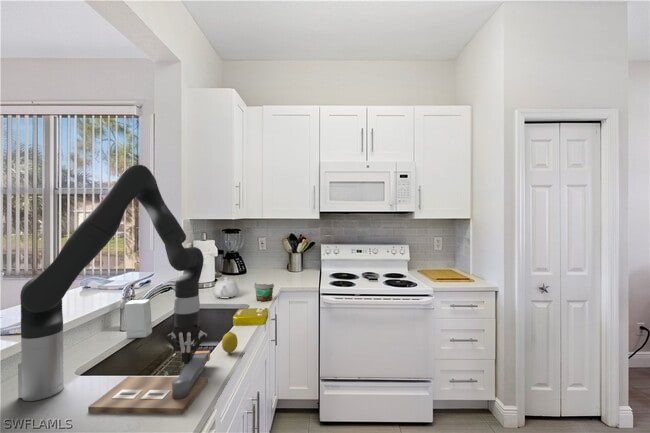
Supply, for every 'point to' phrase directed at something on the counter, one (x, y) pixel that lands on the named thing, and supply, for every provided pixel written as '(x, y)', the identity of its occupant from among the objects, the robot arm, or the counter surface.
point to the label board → (146, 397)
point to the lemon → (229, 342)
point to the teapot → (226, 288)
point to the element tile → (250, 317)
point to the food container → (264, 292)
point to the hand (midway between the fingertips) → (186, 363)
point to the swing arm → (189, 374)
